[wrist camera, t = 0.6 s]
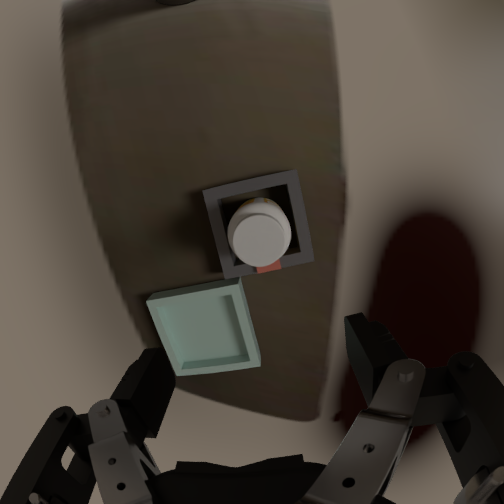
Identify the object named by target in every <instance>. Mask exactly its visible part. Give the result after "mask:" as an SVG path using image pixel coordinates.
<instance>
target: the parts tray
mask: <svg viewBox="0 0 504 504" xmlns="http://www.w3.org/2000/svg"><path fill="white" fill-rule="evenodd" d="M146 303H147V305H148V308H149V311H150V313H151V316H152V319H153V321H154V324H155V326H156V329H157V331H158V334H159V336H160V339H161V341H162V343H163V346H164V348H165V350H166V353H167V355H168V357H169V360H170V362H171V364H172V366H173V369H174V371H175V373H176V375H177V376H183V375H195V374H205V373H214V372H223V371H231V370H238V369H245V368H252V367H258V366H261V354H260V351H259V347H258V343H257V339H256V336H255V332H254V328H253V324H252V321H251V317H250V313H249V309H248V305H247V302H246V298H245V294H244V290H243V286H242V282H241V278H240V277H235V278H230V279H224V280H219V281H214V282H209V283H204V284H199V285H193V286H188V287H183V288H178V289H172V290H167V291H162V292H156V293H153V294H152V295H151V296H150V297H149V298H148V299H147V300H146Z"/></svg>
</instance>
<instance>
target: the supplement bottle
mask: <svg viewBox="0 0 504 504" xmlns="http://www.w3.org/2000/svg"><path fill="white" fill-rule="evenodd" d="M290 240H291V228H290V224H289V221H288V219H287V217H286V215H285V214H284V212H283V211H282V209H281V208H280V207H279V205H278V204H276V203H275V202H274V201H272V200H270V199H267V198H263V197H257V198H252V199H250V200H248V201H246V202H244V203H243V204H242V205H241V206H240V207H239V208H238V210H237V211H236V212H235V214H234V215H233V217H232V218H231V220H230V223H229V226H228V241H229V244H230V246H231V248H232V250H233V252H234V253H235V254H236V255H237V256H238V258H239V259H240V260H242V261H243V262H244V263H246V264H248V265H251V266H255V267H263V266H267V265H270V264H272V263H274V262H275V261H276V260H278V259H279V258H280V257H281V256H282V255H283V254H284V253H285V252H286V250H287V248H288V246H289V244H290Z"/></svg>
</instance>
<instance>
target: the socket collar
mask: <svg viewBox="0 0 504 504" xmlns="http://www.w3.org/2000/svg"><path fill="white" fill-rule="evenodd" d="M283 184H285V185H286V190H287V194H288V199H289V204H290V209H291V213H292V218H293V223H294V228H295V233H296V238H297V243H298V247H293V248H288V249H287V250H286V252H285V253H284V254H283V255H282V256H281V257H280V258H279V259H278V260H276V261H275V262H274V263H272V264H270V265H267V266H263V267H255V266H251V265H248V264H246V263H244V262H243V261H242V260H240V259H235V255H234V252H233V250H232V248H231V246H230V244H229V241H228V226H227V222H226V218H225V214H224V210H223V206H222V202H221V198H225V197H229V196H233V195H237V194H242V193H246V192H250V191H255V190H259V189H264V188H268V187H273V186H278V185H283ZM203 195H204V200H205V204H206V208H207V212H208V216H209V220H210V224H211V228H212V231H213V235H214V239H215V243H216V247H217V251H218V254H219V258H220V262H221V266H222V269H223V273H224V277H225V279H230V278H235V277H240V276H245V275H250V274H255V273H263V272H268V271H272V270H277V269H281V268H284V267H288V266H293V265H298V264H303V263H307V262H312V261H314V255H313V250H312V244H311V238H310V233H309V228H308V222H307V217H306V212H305V207H304V202H303V197H302V192H301V188H300V183H299V178H298V174H297V169H295V170H290V171H285V172H280V173H275V174H270V175H266V176H261V177H256V178H252V179H248V180H243V181H239V182H235V183H231V184H226V185H222V186H218V187H214V188H210V189H206V190H203Z"/></svg>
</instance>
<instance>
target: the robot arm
mask: <svg viewBox="0 0 504 504" xmlns="http://www.w3.org/2000/svg"><path fill="white" fill-rule="evenodd" d="M156 1H158V2H160V3H162V4H167V5H178V4H184V3H188V2H191V1H194V0H156ZM344 322H345V336H346V348H347V354H348V358H349V361H350V363H351V366H352V368H353V370H354V373H355V375H356V377H357V380H358V382H359V385H360V387H361V389H362V392H363V395H364V397H365V400H366V402H367V405H368V409H367V410H365V409H363V410H362V411H361V412H360V413H359V415H358V416H357V418H356V420H355V422H354V423H353V426H352V427H351V428H350V430H349V432H348V434H347V435H346V437H345V438H344V440H343V442H342V443H341V445H340V446H339V448H338V449H337V451H336V453H335V454H334V456H333V457H332V459H331V460H330V462H329V463H328V465H324V464H320V463H312V462H304V460H303V455H302V454H299V455H292V456H285V457H278V458H270V459H266V460H263V461H260V462H256V463H253V464H249V465H245V466H241V467H236V468H235V467H228V466H222V465H218V464H213V463H208V462H182V461H177V464H176V468H175V469H174V470H170V471H166V472H164V473H161V472H160V470H159V468H158V467H157V465H156V463H155V461H154V459H153V457H152V455H151V453H150V452H149V449H148V448H147V445H146V444H145V443H144V439H145V438H156V437H157V434H158V431H159V429H160V426H161V423H162V420H163V418H164V415H165V412H166V409H167V407H168V404H169V401H170V398H171V396H172V393H173V391H174V388H175V384H176V380H175V375H174V372H173V370H172V368H171V366H170V364H169V361H168V359H167V357H166V355H165V352H164V351H163V349H162V348H160V347H159V348H148V349H144V351H143V352H142V354H141V356H140V357H139V359H138V360H136V361H135V362H134V363H133V364H132V365H130V366H129V368H128V370H127V371H126V373H125V375H124V376H123V377H122V379H121V381H120V383H119V384H118V386H117V387H116V389H115V391H114V392H113V394H112V396H111V398H110V399H105V400H101V401H99V402H97V403H95V404H94V405H93V406H92V407H91V408H90V410H89V412H88V413H86V414H80V415H76V413H75V412H74V411H73V409H72V408H71V407H68V406H63V407H60V408H58V409H56V410H54V411H53V412H52V413H51V415H50V416H49V418H48V419H47V421H46V422H45V424H44V425H43V427H42V429H41V430H40V432H39V433H38V435H37V436H36V438H35V440H34V441H33V443H32V444H31V446H30V448H29V450H28V451H27V453H26V454H25V456H24V458H23V459H22V461H21V463H20V465H19V466H18V468H17V470H16V472H15V473H14V475H13V477H12V479H11V481H10V482H9V485H8V486H7V488H6V490H5V492H4V494H3V496H2V498H1V500H0V504H88V503H89V500H90V497H91V494H92V492H93V489H94V486H95V484H96V481H97V483H98V487H99V490H100V494H101V497H102V500H103V503H104V504H396V503H394V502H392V501H390V500H388V499H386V498H385V497H383V495H384V494H385V492H386V490H387V488H388V486H389V484H390V482H391V480H392V478H393V475H394V473H395V471H396V468H397V466H398V463H399V461H400V459H401V456H402V454H403V452H404V449H405V447H406V444H407V442H408V439H409V437H410V434H411V431H412V429H413V426H420V425H428V424H436V426H437V428H438V430H439V432H440V434H441V436H442V439H443V441H444V443H445V445H446V448H447V450H448V452H449V455H450V457H451V459H452V462H453V464H454V467H455V469H456V471H457V474H458V477H459V479H460V482H461V484H462V487H463V489H462V490H461V492H460V493H459V494H458V495H457V497H456V499H455V501H454V504H504V386H503V384H502V383H501V382H500V380H499V379H498V378H497V377H496V375H495V374H494V373H493V372H492V370H491V369H490V368H489V367H488V366H487V364H486V363H485V362H484V361H483V360H482V358H481V357H480V356H478V355H477V354H475V353H472V352H459V353H457V354H454V355H453V356H452V357H451V358H450V359H449V361H448V365H447V366H444V367H437V368H425V367H424V366H423V365H422V363H420V362H418V361H416V360H413V359H408V357H407V356H406V354H405V353H404V352H403V350H402V349H401V347H400V346H399V344H398V343H397V342H396V340H394V337H393V336H392V335H391V334H390V332H389V331H388V329H387V328H386V326H385V325H383V324H381V323H379V322H378V321H372V322H368V321H367V319H366V318H365V316H364V315H363V313H362V312H361V313H357V314H353V315H349V316H345V318H344ZM67 446H69V447H70V448H71V449H72V451H73V452H74V453H75V455H74V456H73V458H72V461H71V463H70V465H69V467H68V469H67V471H66V470H65V469H64V468H63V466H62V463H61V458H62V456H63V454H64V452H65V450H66V448H67Z"/></svg>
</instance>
